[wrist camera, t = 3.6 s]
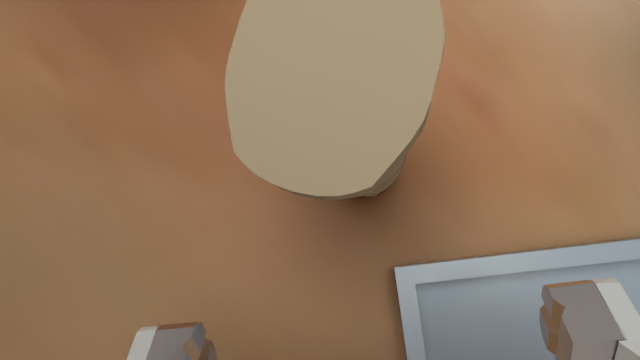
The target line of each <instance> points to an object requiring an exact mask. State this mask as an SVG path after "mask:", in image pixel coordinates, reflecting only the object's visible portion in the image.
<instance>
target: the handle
mask: <svg viewBox="0 0 640 360" xmlns="http://www.w3.org/2000/svg"><path fill="white" fill-rule="evenodd" d="M444 40H445V33H444V22H443V14H442V10H441V5H440V0H247V2H246V4H245V7H244V9H243V12H242V14H241V17H240V20H239V23H238V27H237V30H236V33H235V37H234V40H233V43H232V47H231V50H230V54H229V57H228V62H227V67H226V73H225V99H226V107H227V114H228V121H229V127H230V133H231V138H232V144H233V150H234V153H235V154H236V155H237V157H238V158H239V159H240V160H241V161H242V162H243V164H244V165H245V166H247V167H248V168H249V169H250V170H251V171H252V172H253V173H254V174H256V175H257V176H259V177H260V178H262V179H264V180H266V181H268V182H269V183H271V184H273V185H275V186H277V187H279V188H281V189H283V190H286V191H289V192H291V193H294V194H297V195H300V196H304V197H310V198H316V199H321V200H344V199H349V198H354V197H359V196H368V197H373V196H376V195H378V193H379V192H381V191H383V190H385V189H386V188H388V187H389V186H390V185H391V184H392V183H393V182H394V181H395V179H396V178H397V177H398V175H399V173H400V171H401V169H402V167H403V164H404V161H405V156H406V152H407V151H408V150H409V149H410V147H411V146H412V145H413V143H414V142H415V140H416V139H417V138H418V136H419V135H420V133H421V132H422V130H423V128H424V125H425V123H426V119H427V116H428V112H429V108H430V104H431V100H432V96H433V92H434V88H435V84H436V80H437V76H438V72H439V68H440V64H441V60H442V56H443V50H444Z"/></svg>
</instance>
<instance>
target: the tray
mask: <svg viewBox="0 0 640 360" xmlns="http://www.w3.org/2000/svg"><path fill="white" fill-rule="evenodd" d="M394 269H395V276H396V283H397V290H398V297H399V304H400V312H401V319H402V326H403V333H404V340H405V347H406V354H407V360H555V355H554V354H553V353H551V352H550V351H549V350H547V348H546V345H545V343H544V340H543V337H542V333H541V329H540V321H539V313H540V308H541V307H542V306H543V305H544V302H543V299H542V297H541V293H542V288H543V286H544V285H547V284H556V283H564V282H572V281H581V280H594V279H603V278H613V277H614V278H616V279H617V280H618V281H619V282H620V284H621V285H622V287H623V289H624V290H625V292H626V294H627V295H628V297H629V298H630V300H631V302H632V303H633V305H634V307H635V308H636V310H637V312H638V313H639V315H640V237H639V238H630V239H622V240H613V241H605V242H596V243H587V244H579V245H570V246H562V247H553V248H545V249H536V250H528V251H519V252H511V253H502V254H494V255H485V256H477V257H468V258H460V259H451V260H443V261H434V262H426V263H417V264H409V265H400V266H394Z"/></svg>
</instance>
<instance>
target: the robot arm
mask: <svg viewBox="0 0 640 360" xmlns="http://www.w3.org/2000/svg"><path fill="white" fill-rule="evenodd" d="M541 297H542V299H543V302H544V305H543V306H542V307H541V308H540V313H539V321H540V329H541V333H542V337H543V340H544V343H545V345H546V348H547V350H549V351H550V352H551V353H553V354H554V355H555V360H640V315H639V313H638V312H637V310H636V308H635V307H634V305H633V303H632V302H631V300H630V298H629V297H628V295H627V294H626V292H625V290H624V289H623V287H622V285H621V284H620V282H619V281H618V280H617V279H616V278H614V277H613V278H603V279H594V280H581V281H572V282H564V283H556V284H547V285H544V286H543V288H542V293H541ZM205 333H206V329H205V328H204V326H203V324H202V322H194V323H181V324H168V325H157V326H146V327H141V328H140V329H139V330H138V331H137V333H136V335H135V338H134V340H133V343H132V346H131V348H130V351H129V354H128V356H127V359H126V360H217V356H216V352H215V348H214V346H213V343H212V342H211V341H210V340H208V339H206V338H205Z"/></svg>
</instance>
